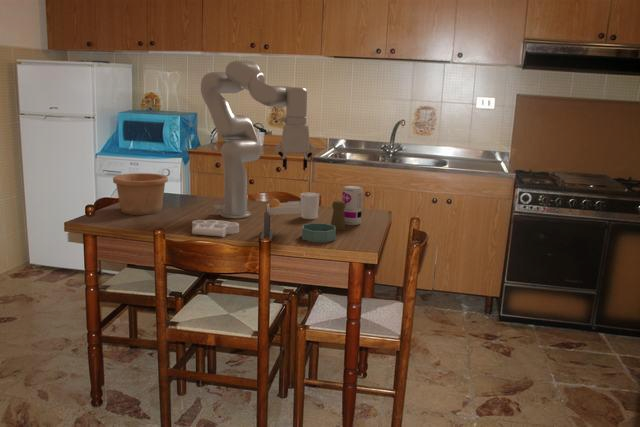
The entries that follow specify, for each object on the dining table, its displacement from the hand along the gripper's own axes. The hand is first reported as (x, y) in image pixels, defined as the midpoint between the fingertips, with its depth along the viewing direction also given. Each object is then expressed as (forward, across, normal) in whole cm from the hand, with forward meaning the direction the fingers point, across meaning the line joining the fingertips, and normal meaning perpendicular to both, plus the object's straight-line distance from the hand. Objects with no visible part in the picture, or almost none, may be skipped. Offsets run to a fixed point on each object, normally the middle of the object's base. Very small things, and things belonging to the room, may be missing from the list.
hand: (294, 169), depth 221 cm
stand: (+24, -10, -10) cm, 28 cm away
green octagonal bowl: (+24, +10, -10) cm, 28 cm away
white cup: (+24, +6, +22) cm, 33 cm away
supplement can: (+24, +24, +14) cm, 36 cm away
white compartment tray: (+24, -30, -6) cm, 39 cm away
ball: (+11, -7, -10) cm, 17 cm away
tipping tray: (+14, -3, -6) cm, 16 cm away
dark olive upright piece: (+24, +18, +4) cm, 30 cm away
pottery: (+24, -64, +26) cm, 73 cm away
